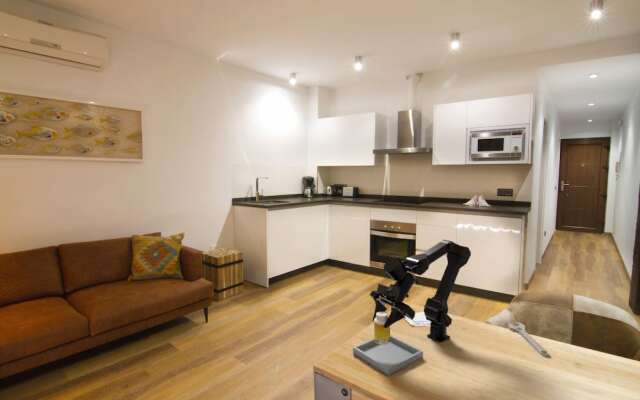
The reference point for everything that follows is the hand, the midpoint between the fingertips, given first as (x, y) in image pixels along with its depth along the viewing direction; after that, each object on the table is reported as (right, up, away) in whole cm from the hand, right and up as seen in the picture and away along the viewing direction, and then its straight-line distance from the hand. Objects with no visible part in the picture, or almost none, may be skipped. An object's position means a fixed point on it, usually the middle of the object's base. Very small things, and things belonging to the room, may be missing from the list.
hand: (378, 324), depth 121 cm
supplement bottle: (+1, -7, +1) cm, 7 cm away
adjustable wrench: (+60, -11, +13) cm, 62 cm away
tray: (+4, -13, +4) cm, 14 cm away
